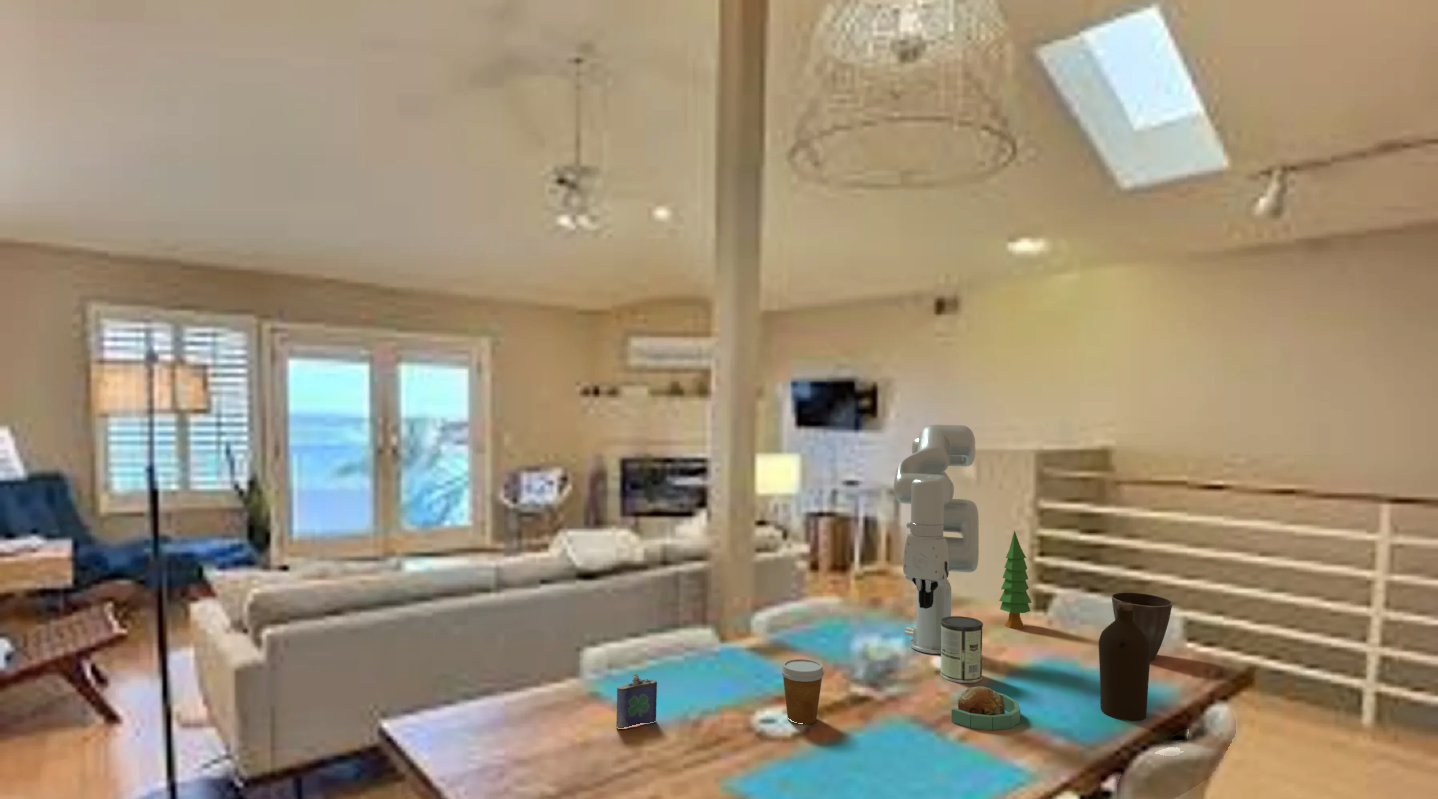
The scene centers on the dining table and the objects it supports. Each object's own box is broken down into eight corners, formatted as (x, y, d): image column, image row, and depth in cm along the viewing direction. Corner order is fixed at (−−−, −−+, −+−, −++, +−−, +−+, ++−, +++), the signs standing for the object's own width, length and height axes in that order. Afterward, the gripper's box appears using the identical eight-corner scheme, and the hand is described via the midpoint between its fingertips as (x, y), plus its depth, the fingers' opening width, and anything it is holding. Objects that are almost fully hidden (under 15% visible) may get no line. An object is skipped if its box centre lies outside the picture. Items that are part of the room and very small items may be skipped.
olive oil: (1159, 722, 181) (1160, 609, 181) (1110, 722, 181) (1112, 609, 181) (1135, 704, 192) (1136, 597, 191) (1089, 703, 192) (1091, 597, 192)
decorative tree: (1000, 628, 253) (1002, 531, 252) (995, 620, 262) (996, 526, 262) (1033, 630, 251) (1035, 532, 251) (1027, 622, 260) (1028, 527, 260)
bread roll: (999, 726, 187) (996, 689, 191) (1012, 723, 178) (1008, 684, 181) (955, 724, 188) (952, 688, 191) (966, 721, 179) (962, 683, 182)
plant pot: (1173, 654, 229) (1174, 597, 229) (1169, 669, 217) (1170, 608, 217) (1114, 645, 238) (1115, 589, 237) (1107, 658, 225) (1108, 600, 225)
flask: (619, 731, 173) (619, 680, 173) (613, 726, 176) (614, 676, 176) (658, 723, 178) (659, 673, 178) (652, 718, 180) (653, 669, 180)
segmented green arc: (951, 721, 180) (951, 709, 180) (987, 701, 192) (987, 689, 192) (997, 736, 173) (998, 723, 173) (1032, 714, 185) (1032, 702, 185)
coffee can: (951, 666, 217) (952, 613, 217) (989, 676, 210) (989, 621, 210) (932, 676, 209) (933, 621, 209) (970, 686, 202) (971, 629, 202)
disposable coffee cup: (827, 714, 184) (828, 660, 184) (818, 730, 175) (819, 674, 175) (786, 708, 187) (786, 656, 187) (775, 724, 178) (775, 669, 178)
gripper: (891, 528, 198) (890, 604, 198) (947, 536, 187) (946, 616, 187) (907, 524, 203) (906, 598, 203) (963, 532, 192) (962, 610, 193)
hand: (925, 607), depth 195 cm, fingers closed
